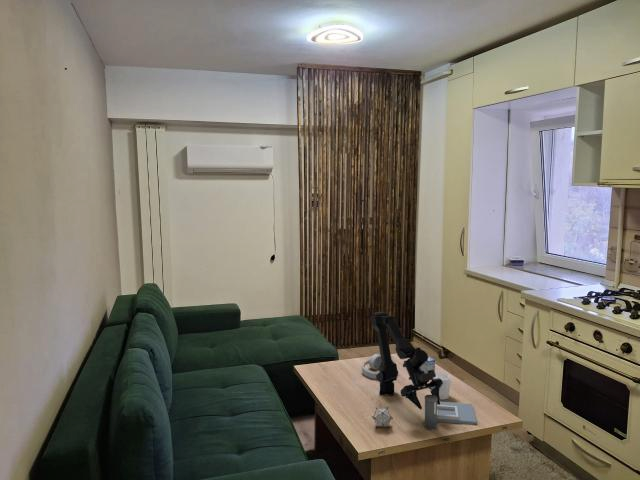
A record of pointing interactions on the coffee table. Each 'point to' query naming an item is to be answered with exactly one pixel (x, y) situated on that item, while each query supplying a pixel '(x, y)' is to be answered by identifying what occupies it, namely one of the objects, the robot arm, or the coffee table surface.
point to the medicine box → (428, 365)
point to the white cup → (443, 385)
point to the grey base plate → (456, 413)
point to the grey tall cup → (431, 412)
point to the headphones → (373, 366)
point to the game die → (382, 417)
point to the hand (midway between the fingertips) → (430, 406)
